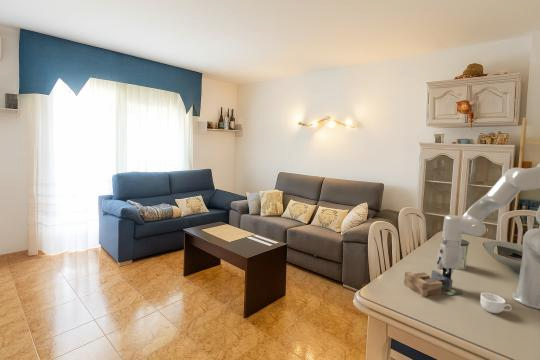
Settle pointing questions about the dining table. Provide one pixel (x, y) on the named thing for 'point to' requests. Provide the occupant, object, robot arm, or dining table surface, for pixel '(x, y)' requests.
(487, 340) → the dining table surface
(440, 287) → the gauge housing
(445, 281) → the grey angular frame piece
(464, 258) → the coffee can
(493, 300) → the teacup
